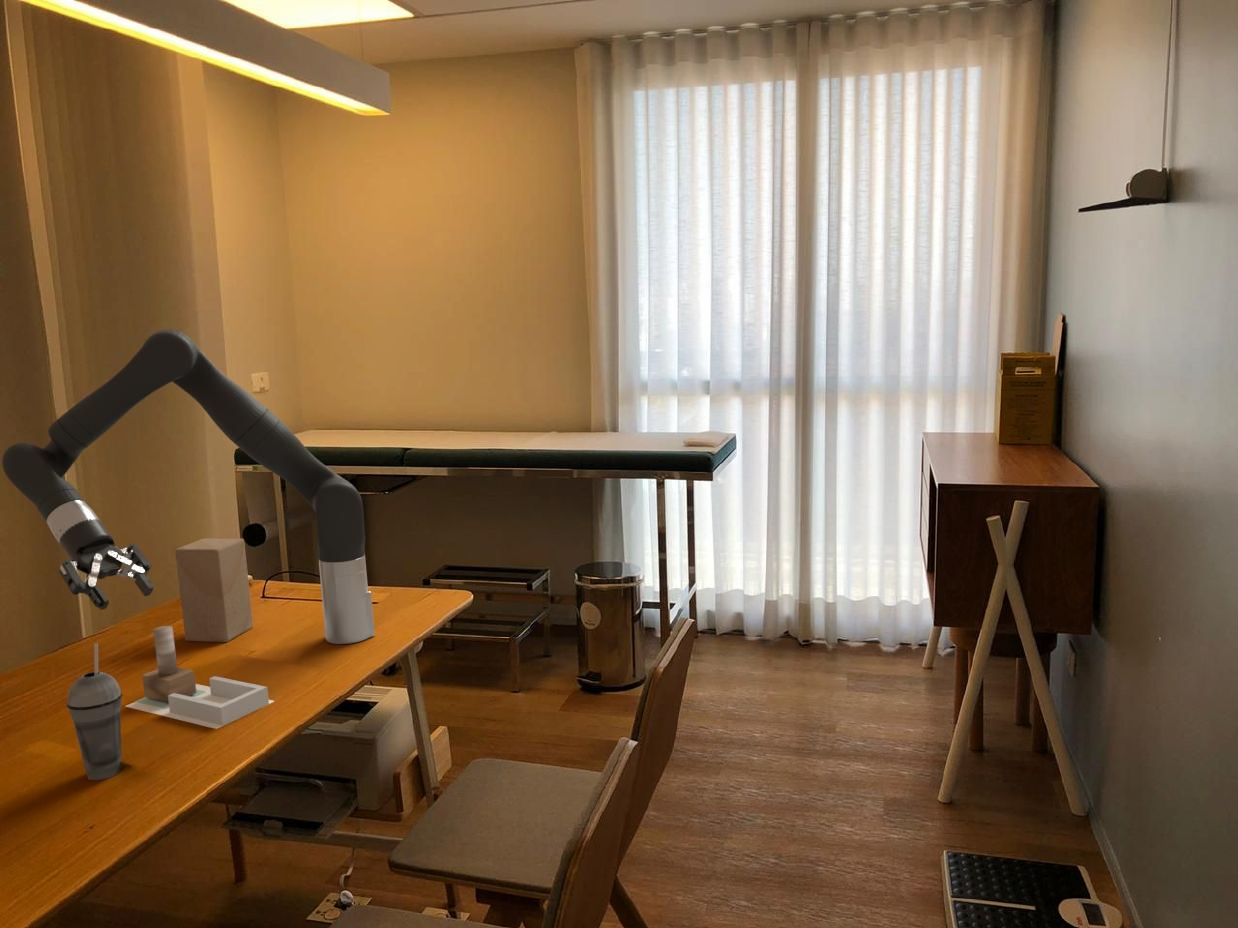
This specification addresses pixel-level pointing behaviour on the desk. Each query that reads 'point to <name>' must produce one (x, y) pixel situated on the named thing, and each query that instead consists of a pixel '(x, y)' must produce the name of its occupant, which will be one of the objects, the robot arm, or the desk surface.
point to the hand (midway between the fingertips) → (128, 599)
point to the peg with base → (167, 670)
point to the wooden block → (214, 589)
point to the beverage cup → (97, 721)
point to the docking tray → (210, 703)
